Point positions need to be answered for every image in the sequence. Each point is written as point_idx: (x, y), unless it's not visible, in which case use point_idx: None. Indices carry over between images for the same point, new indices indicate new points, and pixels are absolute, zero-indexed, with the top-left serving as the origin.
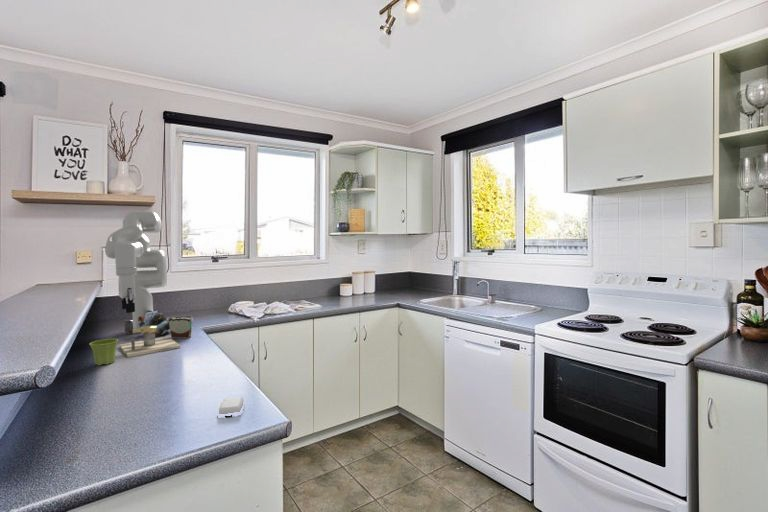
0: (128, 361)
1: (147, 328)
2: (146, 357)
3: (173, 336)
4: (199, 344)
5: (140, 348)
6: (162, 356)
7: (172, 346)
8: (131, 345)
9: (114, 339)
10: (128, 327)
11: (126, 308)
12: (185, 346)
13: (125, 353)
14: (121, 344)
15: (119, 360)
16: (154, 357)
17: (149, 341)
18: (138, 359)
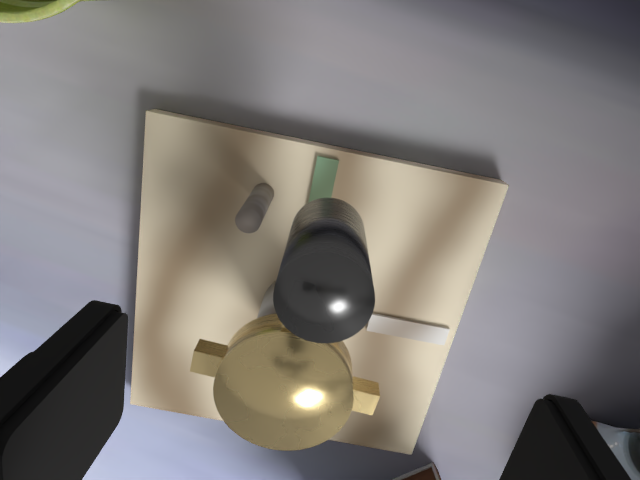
0: (33, 70)
1: (224, 367)
2: (54, 187)
3: (421, 476)
4: (132, 474)
5: (247, 233)
6: (8, 256)
7: (133, 368)
8: (396, 229)
9: (50, 3)
10: (286, 245)
11: (38, 352)
12: (148, 420)
13: (238, 127)
14: (501, 196)
15: (108, 37)
16: (18, 218)
17: (259, 312)
18: (39, 135)
